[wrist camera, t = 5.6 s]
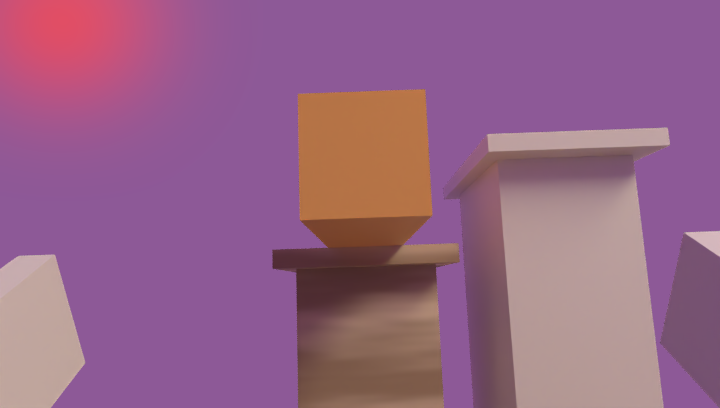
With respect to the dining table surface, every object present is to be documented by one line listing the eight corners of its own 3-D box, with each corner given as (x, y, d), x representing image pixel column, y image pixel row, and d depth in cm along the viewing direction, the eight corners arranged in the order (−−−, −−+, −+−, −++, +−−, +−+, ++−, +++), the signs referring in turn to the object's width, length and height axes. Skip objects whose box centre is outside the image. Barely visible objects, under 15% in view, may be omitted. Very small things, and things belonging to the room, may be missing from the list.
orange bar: (452, 214, 15) (442, 58, 16) (279, 220, 15) (278, 64, 16) (397, 257, 41) (394, 197, 42) (333, 260, 41) (331, 199, 42)
